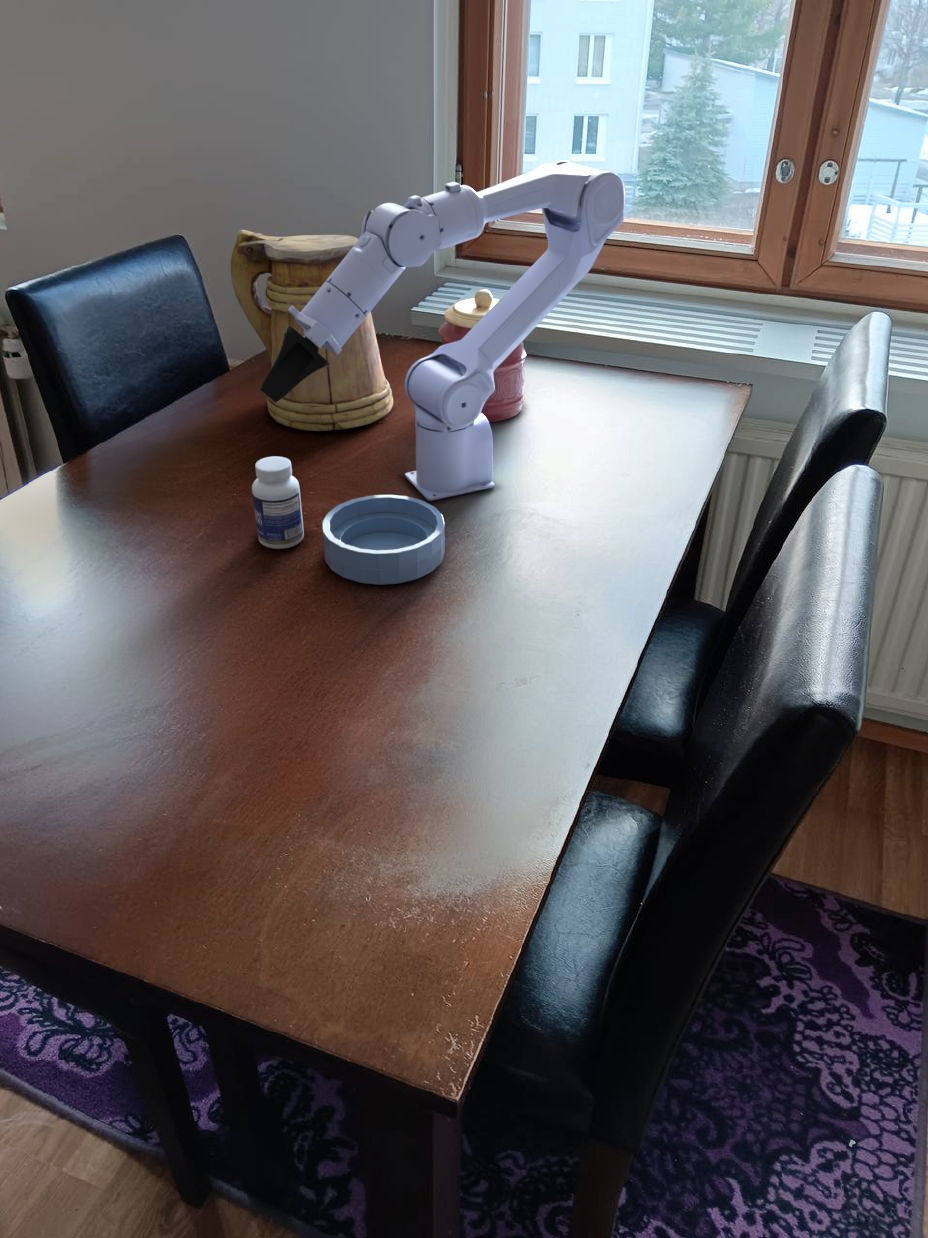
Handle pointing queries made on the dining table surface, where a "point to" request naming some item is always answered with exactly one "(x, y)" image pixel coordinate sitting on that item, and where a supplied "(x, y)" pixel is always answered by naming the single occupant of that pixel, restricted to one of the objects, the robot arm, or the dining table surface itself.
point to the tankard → (297, 273)
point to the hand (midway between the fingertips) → (267, 395)
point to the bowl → (383, 539)
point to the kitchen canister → (507, 374)
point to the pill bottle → (277, 504)
